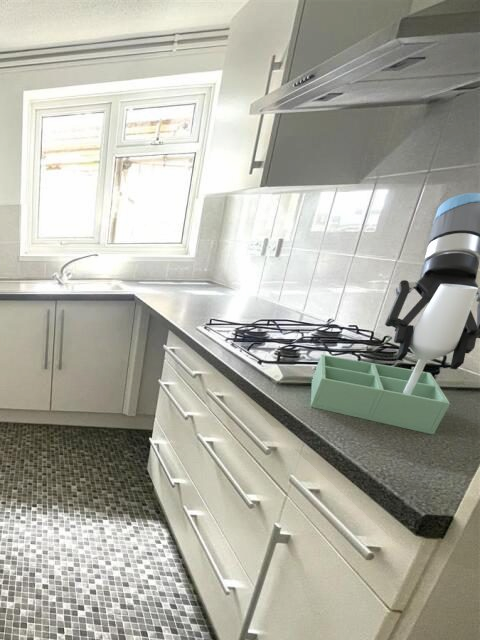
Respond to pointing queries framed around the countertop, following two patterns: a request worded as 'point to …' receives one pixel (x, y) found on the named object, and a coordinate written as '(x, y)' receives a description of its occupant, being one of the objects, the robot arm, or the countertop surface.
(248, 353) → the countertop surface
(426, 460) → the countertop surface
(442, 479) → the countertop surface
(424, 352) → the champagne flute
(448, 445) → the countertop surface
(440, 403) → the divided storage box
